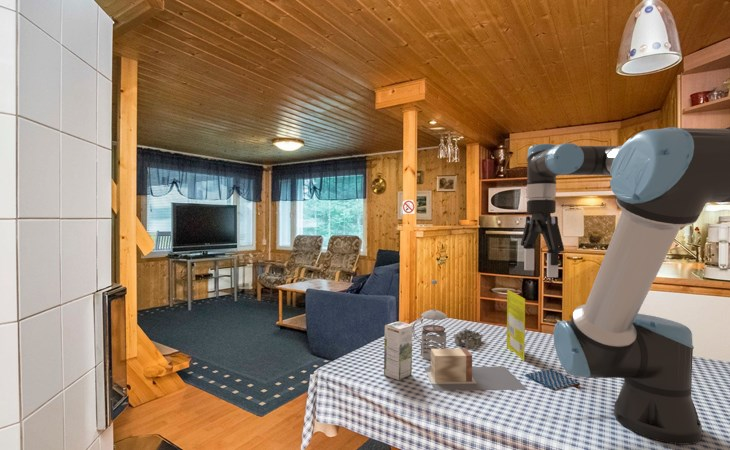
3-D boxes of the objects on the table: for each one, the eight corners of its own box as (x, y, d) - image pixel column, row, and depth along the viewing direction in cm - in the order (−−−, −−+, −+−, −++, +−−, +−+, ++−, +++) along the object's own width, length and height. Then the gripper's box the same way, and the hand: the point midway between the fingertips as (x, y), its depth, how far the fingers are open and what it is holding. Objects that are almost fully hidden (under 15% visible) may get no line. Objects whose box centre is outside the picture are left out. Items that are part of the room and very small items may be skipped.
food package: (526, 364, 117) (526, 299, 117) (522, 364, 117) (523, 299, 117) (508, 347, 132) (509, 289, 132) (505, 346, 133) (505, 289, 132)
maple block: (434, 381, 102) (435, 355, 102) (430, 373, 108) (430, 348, 107) (471, 381, 102) (472, 355, 102) (465, 373, 108) (466, 348, 108)
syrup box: (396, 369, 113) (396, 320, 112) (412, 375, 108) (412, 324, 108) (383, 375, 109) (383, 324, 108) (399, 381, 104) (399, 328, 104)
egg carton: (470, 350, 130) (470, 338, 130) (451, 344, 135) (451, 333, 135) (484, 342, 138) (485, 330, 138) (465, 337, 143) (466, 326, 143)
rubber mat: (527, 392, 98) (527, 389, 98) (434, 393, 97) (434, 390, 97) (504, 369, 113) (504, 366, 113) (423, 369, 112) (423, 366, 112)
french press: (447, 365, 115) (448, 283, 115) (409, 361, 119) (410, 281, 119) (451, 354, 125) (451, 278, 124) (415, 350, 128) (416, 276, 128)
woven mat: (521, 380, 107) (521, 373, 107) (549, 374, 111) (549, 367, 111) (553, 396, 97) (553, 388, 97) (582, 389, 101) (582, 381, 101)
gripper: (579, 197, 97) (578, 280, 98) (533, 201, 122) (532, 267, 123) (550, 197, 97) (549, 280, 98) (510, 201, 122) (509, 267, 123)
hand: (540, 273), depth 110 cm, fingers open, 13 cm apart
